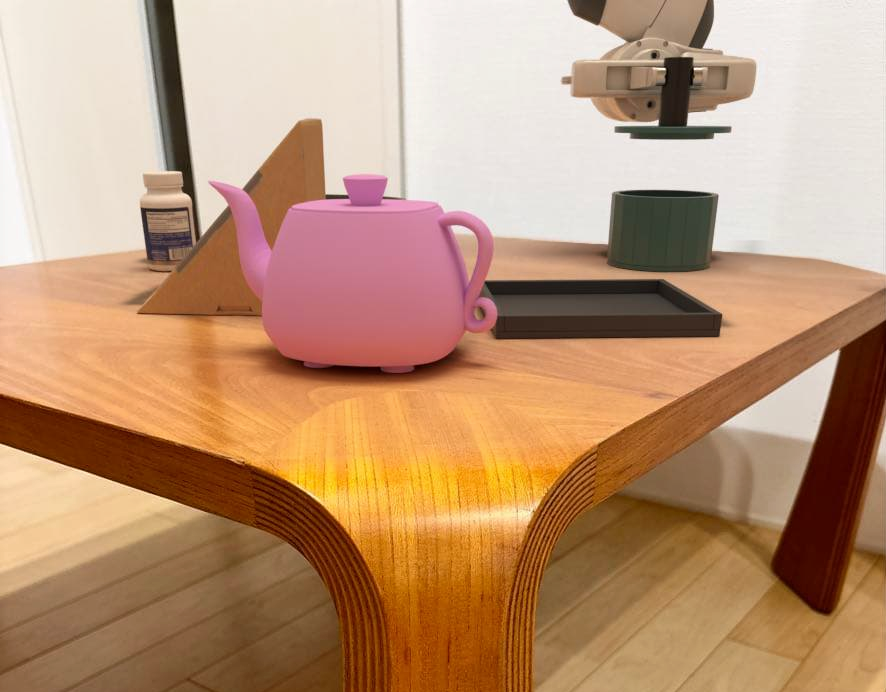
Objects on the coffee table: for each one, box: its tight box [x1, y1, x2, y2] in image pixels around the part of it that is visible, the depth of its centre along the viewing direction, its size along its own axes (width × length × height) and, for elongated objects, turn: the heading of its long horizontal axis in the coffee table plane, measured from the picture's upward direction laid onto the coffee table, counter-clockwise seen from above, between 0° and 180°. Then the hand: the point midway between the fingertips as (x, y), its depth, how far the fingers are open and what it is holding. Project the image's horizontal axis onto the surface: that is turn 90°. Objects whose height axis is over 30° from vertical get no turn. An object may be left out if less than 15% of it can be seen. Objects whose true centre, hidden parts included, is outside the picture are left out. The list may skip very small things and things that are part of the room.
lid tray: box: [478, 278, 723, 339], centre depth 76 cm, size 17×16×2 cm
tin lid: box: [613, 57, 732, 141], centre depth 96 cm, size 12×12×8 cm
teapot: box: [207, 173, 497, 374], centre depth 61 cm, size 20×13×12 cm, turn 76°
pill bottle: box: [139, 170, 198, 272], centre depth 98 cm, size 5×5×10 cm
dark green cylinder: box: [606, 189, 720, 273], centre depth 102 cm, size 11×11×8 cm
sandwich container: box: [136, 117, 326, 316], centre depth 77 cm, size 9×15×15 cm, turn 86°
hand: (679, 76), depth 95 cm, fingers closed on tin lid, 3 cm apart
